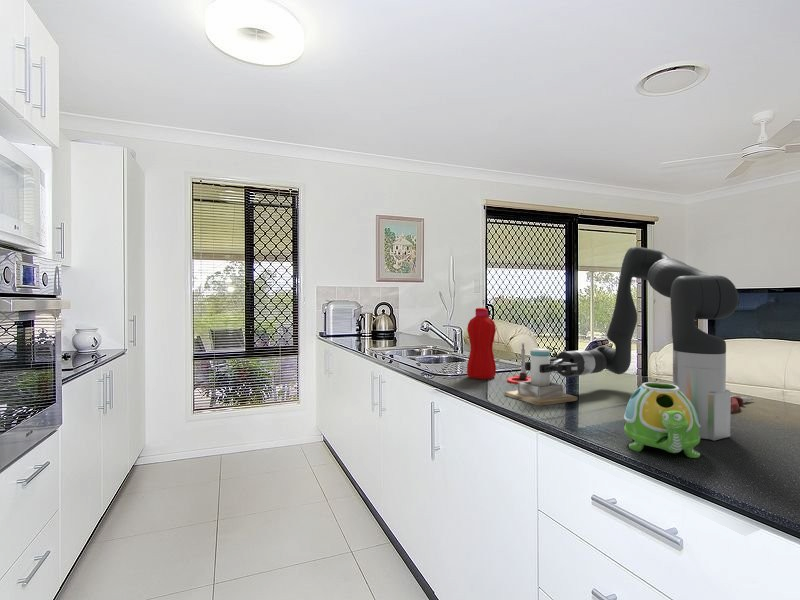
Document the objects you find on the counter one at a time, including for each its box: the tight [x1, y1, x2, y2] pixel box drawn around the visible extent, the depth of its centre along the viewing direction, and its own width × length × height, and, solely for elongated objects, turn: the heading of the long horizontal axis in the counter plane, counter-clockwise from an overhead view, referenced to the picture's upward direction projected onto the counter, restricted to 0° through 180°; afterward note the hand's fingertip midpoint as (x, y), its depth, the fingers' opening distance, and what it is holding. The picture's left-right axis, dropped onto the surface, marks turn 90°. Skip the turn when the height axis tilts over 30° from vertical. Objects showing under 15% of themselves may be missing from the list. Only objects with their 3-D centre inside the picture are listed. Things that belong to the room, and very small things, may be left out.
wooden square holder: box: [503, 380, 578, 407], centre depth 123 cm, size 14×14×4 cm
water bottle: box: [466, 307, 500, 381], centre depth 154 cm, size 9×11×25 cm
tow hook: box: [506, 342, 531, 385], centre depth 147 cm, size 8×13×9 cm
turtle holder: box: [623, 381, 701, 459], centre depth 80 cm, size 12×18×12 cm
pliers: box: [731, 395, 754, 413], centre depth 116 cm, size 12×20×3 cm, turn 115°
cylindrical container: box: [529, 347, 551, 387], centre depth 123 cm, size 5×5×11 cm
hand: (533, 367), depth 122 cm, fingers closed on cylindrical container, 5 cm apart
